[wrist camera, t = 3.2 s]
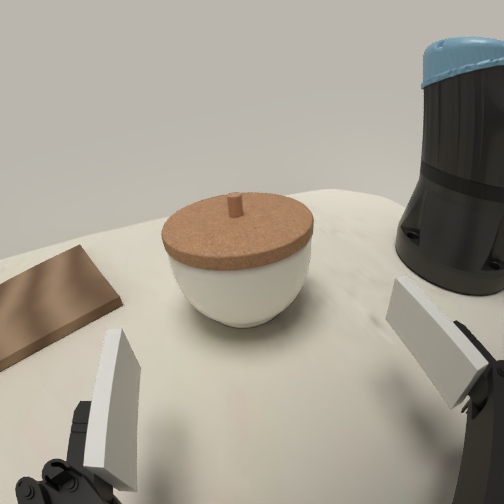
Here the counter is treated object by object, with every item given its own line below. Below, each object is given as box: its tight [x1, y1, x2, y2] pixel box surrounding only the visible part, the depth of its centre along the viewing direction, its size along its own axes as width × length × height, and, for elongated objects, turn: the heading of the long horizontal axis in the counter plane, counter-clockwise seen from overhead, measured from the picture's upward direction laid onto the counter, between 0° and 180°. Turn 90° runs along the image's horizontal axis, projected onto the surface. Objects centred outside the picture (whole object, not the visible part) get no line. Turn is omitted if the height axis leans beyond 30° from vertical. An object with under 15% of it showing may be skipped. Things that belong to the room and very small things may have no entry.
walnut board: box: [0, 245, 123, 371], centre depth 26 cm, size 16×16×1 cm
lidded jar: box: [162, 192, 314, 328], centre depth 23 cm, size 11×11×9 cm
